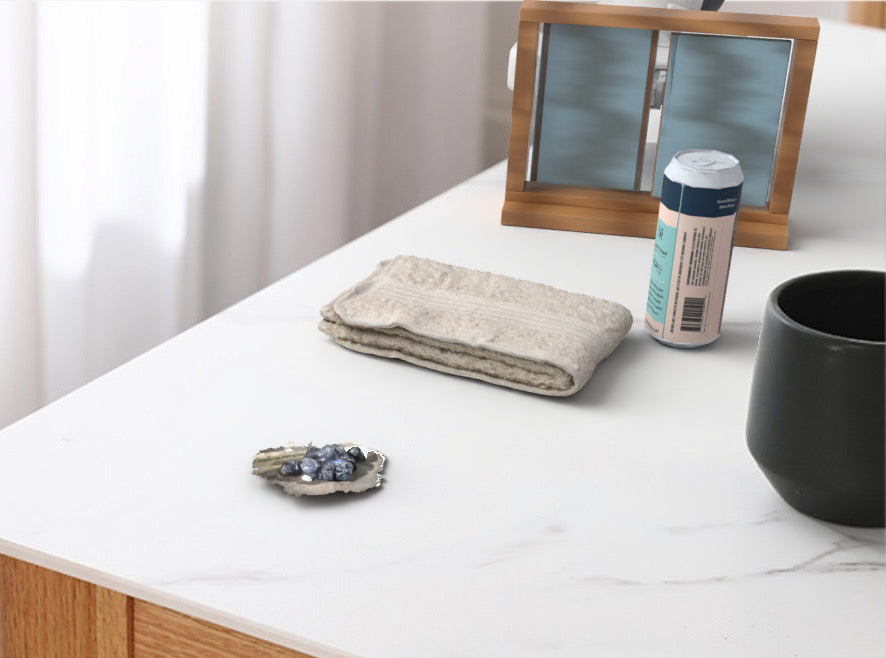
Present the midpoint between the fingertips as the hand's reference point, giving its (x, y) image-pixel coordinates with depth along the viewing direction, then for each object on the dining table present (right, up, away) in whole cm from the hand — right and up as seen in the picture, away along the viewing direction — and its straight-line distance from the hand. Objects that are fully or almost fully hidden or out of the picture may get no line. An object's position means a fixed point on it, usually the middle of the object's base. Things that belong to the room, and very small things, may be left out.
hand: (632, 97), depth 120 cm
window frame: (+1, -9, 0) cm, 9 cm away
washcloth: (-14, -20, -19) cm, 31 cm away
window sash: (-3, -6, +3) cm, 7 cm away
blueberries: (-25, -27, -35) cm, 51 cm away
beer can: (-1, -19, -18) cm, 27 cm away
